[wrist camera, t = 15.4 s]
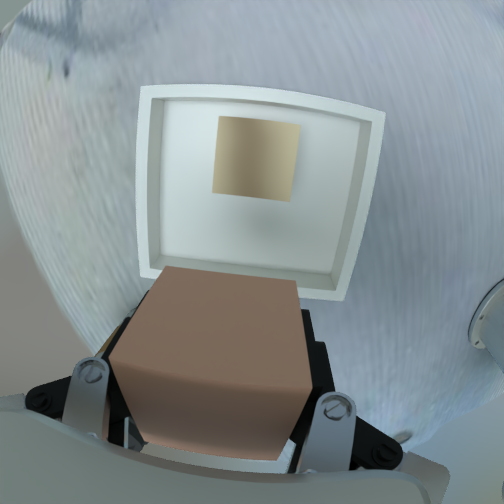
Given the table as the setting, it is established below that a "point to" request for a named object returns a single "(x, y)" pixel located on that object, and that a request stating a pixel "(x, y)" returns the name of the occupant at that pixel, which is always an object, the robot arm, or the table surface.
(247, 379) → the terracotta block
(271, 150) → the maple block
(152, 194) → the tray
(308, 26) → the table surface
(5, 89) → the table surface
